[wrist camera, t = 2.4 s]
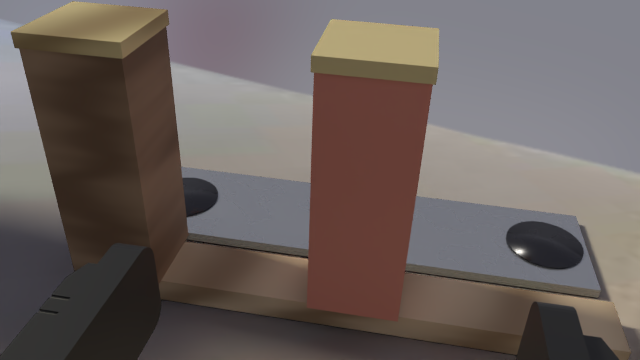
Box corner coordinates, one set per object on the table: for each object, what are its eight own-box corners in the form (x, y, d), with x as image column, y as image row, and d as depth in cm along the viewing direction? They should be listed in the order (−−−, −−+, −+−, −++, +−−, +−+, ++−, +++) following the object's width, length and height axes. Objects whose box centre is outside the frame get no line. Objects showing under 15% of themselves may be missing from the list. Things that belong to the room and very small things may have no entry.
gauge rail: (74, 295, 28) (7, 31, 21) (115, 241, 31) (69, 1, 24) (625, 382, 24) (758, 104, 18) (602, 312, 28) (705, 57, 21)
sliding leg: (304, 308, 26) (310, 55, 19) (320, 249, 29) (331, 19, 23) (399, 323, 25) (438, 67, 19) (404, 261, 29) (438, 28, 22)
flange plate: (124, 230, 32) (122, 221, 32) (169, 171, 37) (168, 163, 37) (598, 297, 29) (601, 288, 29) (573, 223, 34) (576, 214, 34)
